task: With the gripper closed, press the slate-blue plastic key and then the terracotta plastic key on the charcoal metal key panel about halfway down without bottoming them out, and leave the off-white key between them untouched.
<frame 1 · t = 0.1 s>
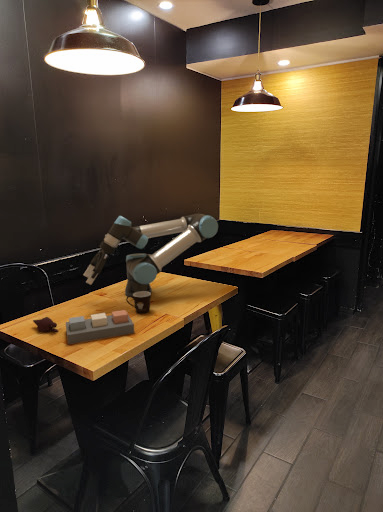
hand: (87, 279, 186), 15 cm above the table, tool tilted 35°, fingers open, 13 cm apart
dark brown irregular piece: (46, 332, 163), on the table
key panel: (100, 334, 160), on the table
coffee mug: (140, 313, 183), on the table
slate key: (77, 324, 155), point 6 cm above the table, slide at 0.0 cm
terracotta key: (120, 317, 161), point 6 cm above the table, slide at 0.0 cm
white key: (99, 320, 158), point 6 cm above the table, slide at 0.0 cm
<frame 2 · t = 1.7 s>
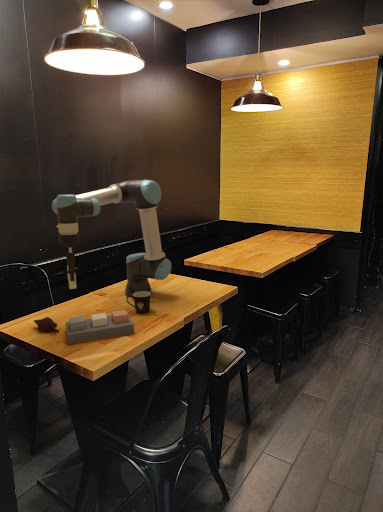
hand: (72, 284, 153), 23 cm above the table, tool pointing down, fingers open, 13 cm apart
nothing on the table moved.
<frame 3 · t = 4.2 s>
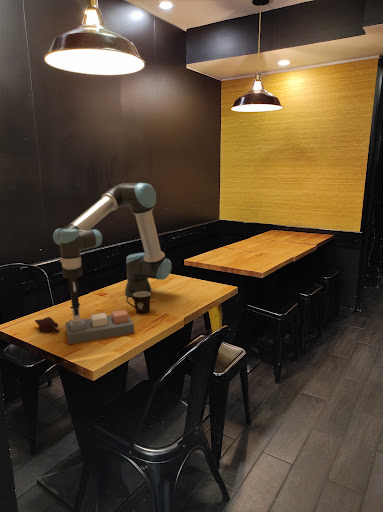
hand: (76, 321, 155), 7 cm above the table, tool pointing down, fingers closed
slate key: (77, 326, 155), point 5 cm above the table, slide at 1.1 cm, touching gripper
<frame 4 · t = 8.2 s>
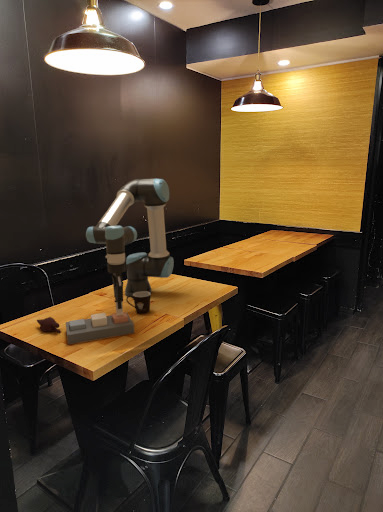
hand: (119, 314, 161), 7 cm above the table, tool pointing down, fingers closed
slate key: (77, 326, 155), point 5 cm above the table, slide at 1.3 cm
terracotta key: (120, 319, 162), point 5 cm above the table, slide at 1.1 cm, touching gripper
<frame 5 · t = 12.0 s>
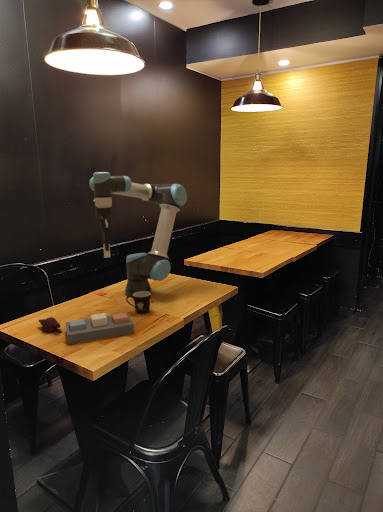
hand: (107, 257, 173), 29 cm above the table, tool pointing down, fingers closed
terracotta key: (120, 320, 162), point 5 cm above the table, slide at 1.3 cm
at the end: slate key slide at 1.3 cm; terracotta key slide at 1.3 cm; white key slide at 0.0 cm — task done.
